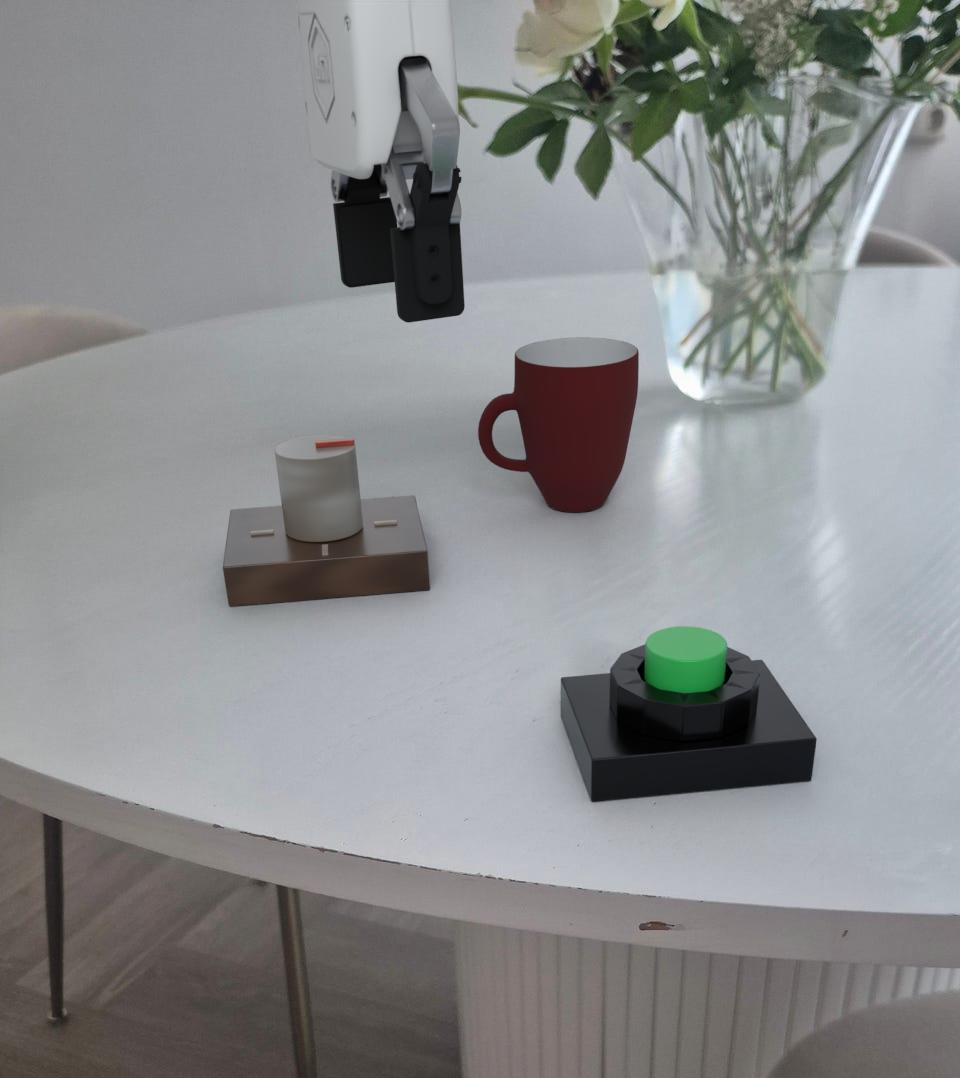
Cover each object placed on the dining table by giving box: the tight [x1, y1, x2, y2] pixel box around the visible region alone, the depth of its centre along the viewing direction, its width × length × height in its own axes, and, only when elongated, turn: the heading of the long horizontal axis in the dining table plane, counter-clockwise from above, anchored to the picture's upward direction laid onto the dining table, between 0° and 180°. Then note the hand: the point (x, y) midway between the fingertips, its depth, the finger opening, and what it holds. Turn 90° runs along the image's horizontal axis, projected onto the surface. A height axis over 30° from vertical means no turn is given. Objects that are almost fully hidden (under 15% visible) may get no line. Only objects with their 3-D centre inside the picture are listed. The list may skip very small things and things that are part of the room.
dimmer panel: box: [222, 495, 431, 607], centre depth 78 cm, size 12×10×3 cm
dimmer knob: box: [274, 434, 363, 542], centre depth 76 cm, size 5×5×5 cm
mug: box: [477, 336, 640, 513], centre depth 84 cm, size 10×8×10 cm
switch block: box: [560, 644, 818, 803], centre depth 58 cm, size 10×8×4 cm
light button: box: [644, 625, 728, 693], centre depth 57 cm, size 4×4×2 cm
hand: (400, 299), depth 64 cm, fingers open, 9 cm apart
